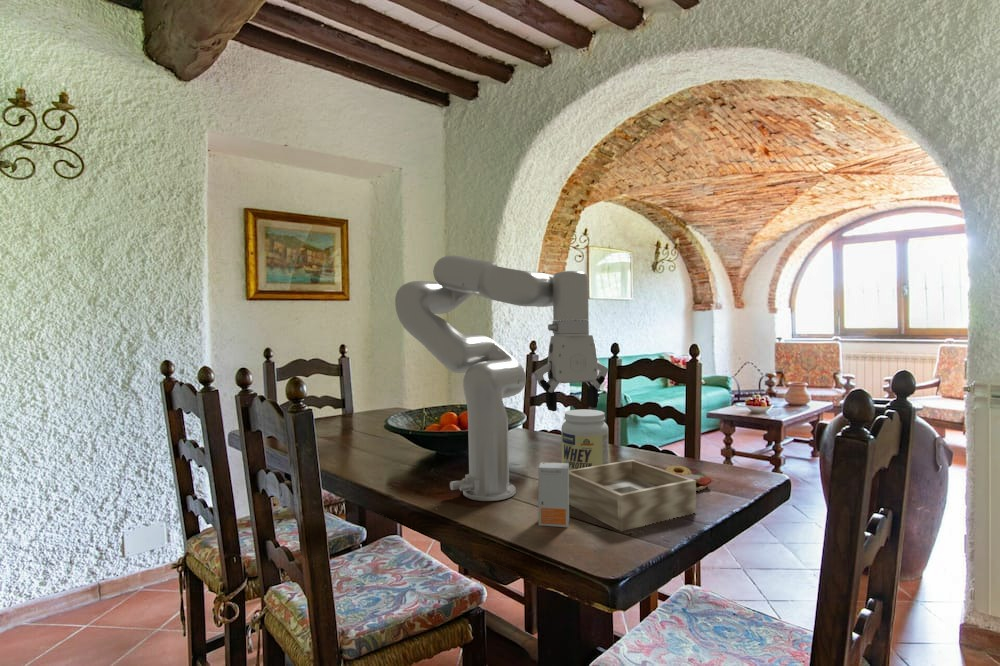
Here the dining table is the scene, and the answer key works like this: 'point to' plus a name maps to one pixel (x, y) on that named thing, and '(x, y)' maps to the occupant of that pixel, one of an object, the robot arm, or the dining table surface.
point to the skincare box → (553, 494)
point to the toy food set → (691, 476)
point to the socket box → (631, 494)
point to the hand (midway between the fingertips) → (572, 408)
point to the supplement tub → (584, 439)
